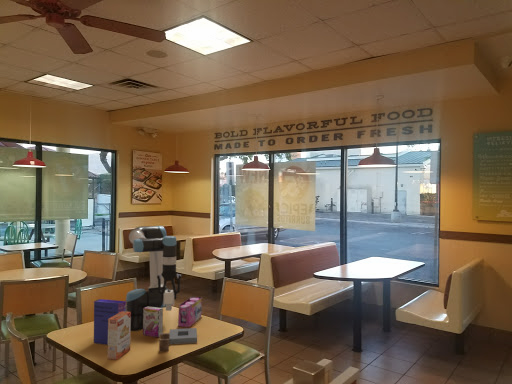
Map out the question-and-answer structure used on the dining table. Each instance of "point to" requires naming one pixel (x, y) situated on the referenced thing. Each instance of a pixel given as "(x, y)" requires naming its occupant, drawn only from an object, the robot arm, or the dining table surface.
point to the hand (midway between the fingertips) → (168, 305)
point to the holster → (164, 342)
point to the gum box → (190, 311)
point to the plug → (168, 299)
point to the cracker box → (119, 335)
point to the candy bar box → (152, 321)
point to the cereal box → (105, 317)
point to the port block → (183, 336)
